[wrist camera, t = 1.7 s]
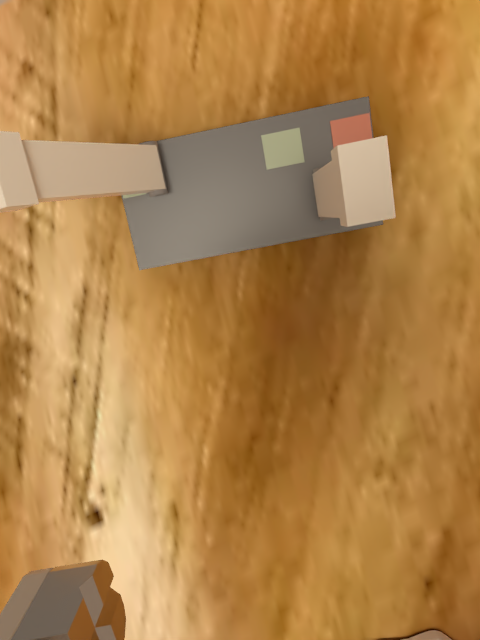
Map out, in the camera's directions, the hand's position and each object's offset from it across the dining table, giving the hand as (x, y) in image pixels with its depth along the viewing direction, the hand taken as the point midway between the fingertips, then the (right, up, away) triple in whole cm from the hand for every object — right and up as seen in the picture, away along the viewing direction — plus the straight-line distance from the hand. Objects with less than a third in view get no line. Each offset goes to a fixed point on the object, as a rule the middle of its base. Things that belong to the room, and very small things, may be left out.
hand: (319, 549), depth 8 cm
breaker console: (-1, +15, +28) cm, 32 cm away
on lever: (-8, +15, +24) cm, 29 cm away
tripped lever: (+5, +13, +24) cm, 28 cm away
